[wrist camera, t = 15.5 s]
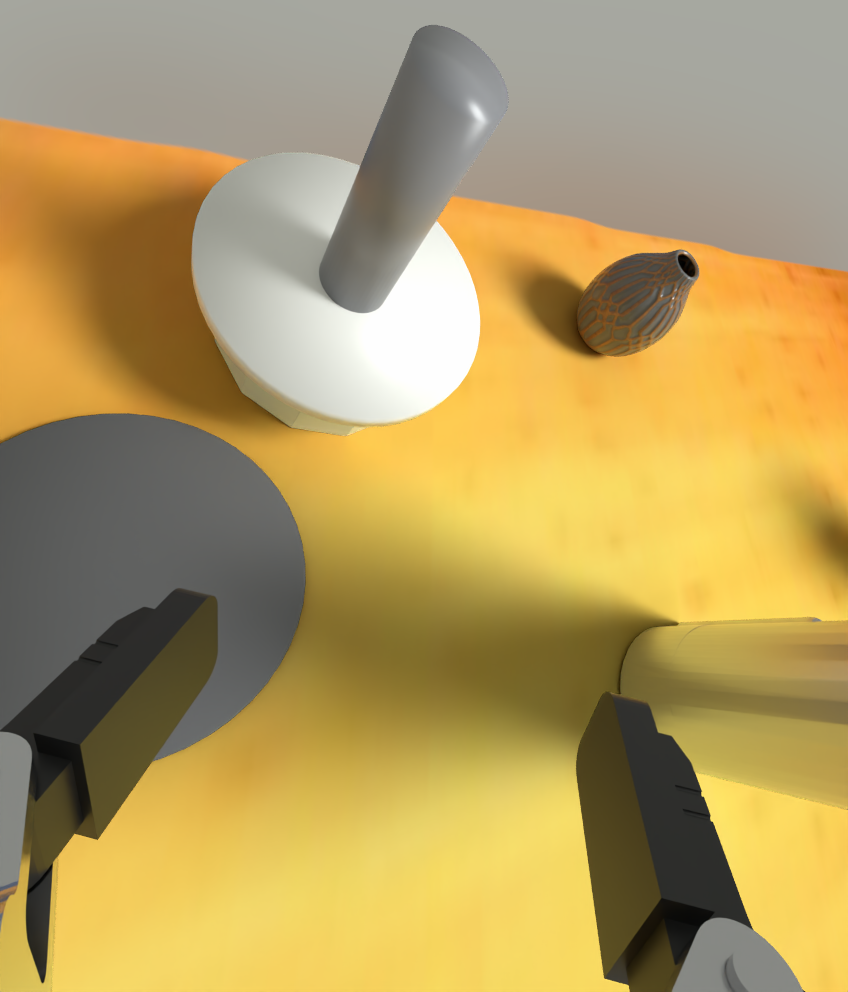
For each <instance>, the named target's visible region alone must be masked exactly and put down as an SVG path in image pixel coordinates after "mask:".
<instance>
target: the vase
mask: <svg viewBox="0 0 848 992" xmlns="http://www.w3.org/2000/svg"><path fill="white" fill-rule="evenodd" d="M698 277H699V268H698V265H697V263H696V261H695V259H694V258H693V256H692V255H691V254H690V253H688V252H687V251H685V250H676V251H673V252H669V253H640V254H634V255H630V256H628V257H625V258H623V259H620V260H618V261H616V262H614V263H613V264H611V265H609V266H608V267H607V268H605V269H604V270H603V271H602V272H601V273H599V274H598V275H597V276H596V277H595V278H594V279H593V280H592V282H591V283H590V284H589V286H588V287H587V288H586V290H585V292H584V293H583V295H582V297H581V300H580V302H579V306H578V311H577V325H578V330H579V333H580V335H581V337H582V339H583V340H584V342H585V343H586V344H587V345H588V346H589V347H590V348H591V349H593V350H595V351H596V352H599V353H601V354H604V355H607V356H614V357H619V356H627V355H631V354H634V353H637V352H640V351H642V350H644V349H646V348H648V347H650V346H651V345H653V344H655V343H656V342H658V341H659V340H660V339H661V338H663V337H664V336H665V335H666V334H667V333H668V332H669V331H670V330H671V328H672V327H673V326H674V325H675V323H676V322H677V321H678V319H679V317H680V315H681V313H682V311H683V309H684V306H685V303H686V300H687V297H688V294H689V292H690V289H691V288H692V286H693V284H694V283H695V282H696V280H697V279H698Z"/></svg>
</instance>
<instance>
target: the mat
mask: <svg viewBox="0 0 848 992" xmlns="http://www.w3.org/2000/svg"><path fill="white" fill-rule="evenodd" d="M177 588H183V589H187V590H191V591H195V592H199V593H204V594H208V595H212V596H215V597H216V599H217V602H218V655H217V660H216V664H215V667H214V669H213V672H212V674H211V676H210V678H209V680H208V682H207V683H206V685H205V686H204V687H203V689H202V690H201V692H200V693H199V695H198V696H197V698H196V699H195V700H194V702H193V703H192V705H191V706H190V708H189V709H188V710H187V712H186V713H185V715H184V716H183V718H182V719H181V721H180V722H179V723H178V725H177V726H176V728H175V729H174V731H173V732H172V734H171V735H170V736H169V738H168V739H167V741H166V742H165V744H164V745H163V746H162V748H161V749H160V751H159V752H158V754H157V755H156V757H155V758H154V759H153V761H155V760H158V759H161V758H164V757H166V756H168V755H171V754H173V753H176V752H178V751H180V750H183V749H185V748H187V747H189V746H191V745H193V744H194V743H196V742H198V741H200V740H202V739H203V738H205V737H207V736H209V735H210V734H212V733H213V732H215V731H216V730H217V729H219V728H220V727H222V726H223V725H224V724H226V723H227V722H228V721H230V720H231V719H232V718H234V717H235V716H236V715H237V714H238V713H239V712H240V711H241V710H242V709H244V708H245V707H246V706H247V705H248V704H249V703H250V702H251V701H252V700H253V699H254V698H255V696H256V695H257V694H258V693H259V692H260V691H261V690H262V688H263V687H264V686H265V685H266V684H267V683H268V681H269V680H270V678H271V677H272V675H273V674H274V672H275V671H276V669H277V668H278V667H279V665H280V663H281V662H282V660H283V658H284V656H285V654H286V652H287V650H288V648H289V646H290V644H291V642H292V639H293V637H294V634H295V631H296V629H297V626H298V623H299V619H300V615H301V611H302V606H303V601H304V592H305V559H304V552H303V546H302V541H301V538H300V534H299V531H298V527H297V524H296V522H295V520H294V517H293V515H292V513H291V511H290V508H289V506H288V505H287V503H286V501H285V500H284V498H283V496H282V495H281V493H280V491H279V490H278V488H277V487H276V486H275V485H274V483H273V482H272V481H271V480H270V478H269V477H268V476H267V475H266V474H265V473H264V472H263V471H262V470H261V469H260V468H259V467H258V466H257V465H256V464H255V463H254V462H253V461H252V460H251V459H250V458H248V457H247V456H246V455H244V454H243V453H242V452H241V451H239V450H238V449H237V448H235V447H234V446H232V445H230V444H229V443H227V442H225V441H224V440H222V439H220V438H219V437H217V436H215V435H212V434H210V433H208V432H206V431H203V430H201V429H199V428H197V427H194V426H190V425H187V424H184V423H181V422H178V421H175V420H170V419H165V418H160V417H155V416H148V415H137V414H98V415H90V416H81V417H75V418H71V419H66V420H62V421H57V422H53V423H50V424H47V425H44V426H41V427H38V428H35V429H32V430H29V431H26V432H24V433H22V434H20V435H18V436H16V437H14V438H11V439H9V440H7V441H5V442H3V443H1V444H0V730H1V729H2V728H3V727H4V726H6V725H7V724H8V723H9V722H10V721H11V720H12V719H13V718H14V717H15V716H16V715H17V714H19V713H20V712H21V711H22V710H23V709H24V708H25V707H26V706H27V705H28V704H29V703H30V702H31V701H32V700H33V699H34V698H35V697H36V696H38V695H39V694H40V693H41V692H42V691H43V690H44V689H45V688H46V687H47V686H48V685H49V684H50V683H51V682H52V681H53V680H54V679H56V678H57V677H58V676H59V675H60V674H61V673H62V672H63V671H64V670H65V669H66V668H67V667H68V666H69V665H70V664H71V663H72V662H74V661H77V660H78V659H79V656H80V655H81V654H82V653H83V652H84V651H85V650H86V649H87V648H88V647H89V646H90V645H91V644H95V643H96V640H97V639H98V638H99V637H100V636H101V635H102V634H103V633H104V632H105V631H106V630H107V629H108V628H109V627H111V626H112V625H113V624H114V623H115V622H116V621H117V620H119V619H121V618H123V617H125V616H127V615H128V614H130V613H132V612H134V611H136V610H138V609H140V608H142V607H148V608H152V609H155V608H156V607H157V606H158V605H159V604H160V603H161V602H162V601H163V600H164V599H165V598H166V597H167V596H168V595H169V594H170V593H171V592H172V591H173V590H175V589H177Z"/></svg>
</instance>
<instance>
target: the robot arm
mask: <svg viewBox="0 0 848 992" xmlns="http://www.w3.org/2000/svg"><path fill="white" fill-rule="evenodd" d="M217 655H218V602H217V599H216V597H215V596H212V595H208V594H204V593H199V592H195V591H191V590H187V589H183V588H177V589H175V590H173V591H172V592H171V593H170V594H169V595H168V596H167V597H166V598H165V599H164V600H163V601H162V602H161V603H160V604H159V605H158V606H157V607H156V608H155V609H152V608H148V607H142V608H140V609H138V610H136V611H134V612H132V613H130V614H128V615H127V616H125V617H123V618H121V619H119V620H117V621H116V622H115V623H114V624H113V625H112V626H111V627H109V628H108V629H107V630H106V631H105V632H104V633H103V634H102V635H101V636H100V637H99V638H98V639H97V640H96V643H95V644H91V645H90V646H89V647H88V648H87V649H86V650H85V651H84V652H83V653H82V654H81V655H80V656H79V659H78V660H77V661H74V662H72V663H71V664H70V665H69V666H68V667H67V668H66V669H65V670H64V671H63V672H62V673H61V674H60V675H59V676H58V677H57V678H56V679H54V680H53V681H52V682H51V683H50V684H49V685H48V686H47V687H46V688H45V689H44V690H43V691H42V692H41V693H40V694H39V695H38V696H36V697H35V698H34V699H33V700H32V701H31V702H30V703H29V704H28V705H27V706H26V707H25V708H24V709H23V710H22V711H21V712H20V713H19V714H17V715H16V716H15V717H14V718H13V719H12V720H11V721H10V722H9V723H8V724H7V725H6V726H4V727H3V728H2V729H1V730H0V992H52V977H53V958H54V939H55V920H56V900H57V881H58V855H59V854H60V852H61V851H62V850H63V848H64V847H65V846H66V844H67V843H68V842H69V840H70V839H71V838H72V836H73V835H74V833H75V834H78V835H82V836H86V837H89V838H93V839H97V840H98V839H99V837H100V836H101V834H102V833H103V831H104V830H105V829H106V827H107V826H108V824H109V823H110V821H111V820H112V818H113V817H114V816H115V814H116V813H117V811H118V810H119V808H120V807H121V805H122V804H123V803H124V801H125V800H126V798H127V797H128V795H129V794H130V793H131V791H132V790H133V788H134V787H135V785H136V784H137V782H138V781H139V780H140V778H141V777H142V775H143V774H144V772H145V771H146V769H147V768H148V767H149V765H150V764H151V762H152V761H153V759H154V758H155V757H156V755H157V754H158V752H159V751H160V749H161V748H162V746H163V745H164V744H165V742H166V741H167V739H168V738H169V736H170V735H171V734H172V732H173V731H174V729H175V728H176V726H177V725H178V723H179V722H180V721H181V719H182V718H183V716H184V715H185V713H186V712H187V710H188V709H189V708H190V706H191V705H192V703H193V702H194V700H195V699H196V698H197V696H198V695H199V693H200V692H201V690H202V689H203V687H204V686H205V685H206V683H207V682H208V680H209V678H210V676H211V674H212V672H213V669H214V667H215V664H216V660H217ZM620 693H621V695H620V694H616V693H611V692H605V693H604V694H603V695H602V696H601V698H600V700H599V702H598V705H597V707H596V709H595V711H594V713H593V715H592V718H591V720H590V722H589V724H588V726H587V728H586V731H585V733H584V735H583V737H582V739H581V742H580V744H579V748H578V753H577V761H576V775H577V783H578V790H579V797H580V805H581V812H582V819H583V827H584V834H585V841H586V849H587V856H588V863H589V871H590V878H591V885H592V893H593V900H594V907H595V915H596V922H597V929H598V937H599V944H600V951H601V959H602V966H603V973H604V979H608V980H612V981H616V982H619V983H623V984H627V985H629V989H630V992H805V991H804V990H802V988H801V986H800V984H799V982H798V980H797V978H796V977H795V975H794V973H793V972H792V970H791V969H790V967H789V966H788V964H787V963H786V962H785V960H784V959H783V958H782V957H781V955H780V954H779V953H778V952H777V951H776V950H775V949H774V948H773V947H772V946H771V945H770V944H769V943H768V942H767V941H766V940H765V939H764V938H763V937H761V936H760V935H759V934H758V933H756V932H755V931H754V930H753V928H752V926H751V924H750V921H749V919H748V917H747V914H746V911H745V908H744V906H743V903H742V900H741V898H740V895H739V892H738V889H737V887H736V884H735V881H734V878H733V876H732V873H731V870H730V867H729V865H728V862H727V859H726V856H725V854H724V851H723V848H722V845H721V843H720V840H719V837H718V835H717V832H716V829H715V826H714V824H713V822H711V821H710V816H711V815H710V813H709V810H708V807H707V804H706V802H705V799H704V797H702V796H701V792H702V791H701V788H700V785H699V782H698V780H697V777H696V774H695V772H696V773H700V774H704V775H708V776H712V777H716V778H719V779H723V780H727V781H732V782H736V783H740V784H744V785H748V786H752V787H756V788H760V789H764V790H768V791H772V792H776V793H781V794H785V795H789V796H793V797H797V798H801V799H805V800H809V801H813V802H817V803H821V804H826V805H830V806H834V807H838V808H842V809H846V810H848V621H821V620H820V619H817V618H814V617H803V618H778V619H753V620H728V621H703V622H681V623H679V624H678V625H677V626H659V627H652V628H649V629H647V630H645V631H643V632H642V633H641V634H640V635H639V636H637V637H636V638H635V639H634V641H633V642H632V644H631V645H630V647H629V648H628V651H627V653H626V656H625V658H624V661H623V666H622V671H621V681H620Z"/></svg>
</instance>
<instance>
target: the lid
mask: <svg viewBox="0 0 848 992" xmlns="http://www.w3.org/2000/svg"><path fill="white" fill-rule="evenodd" d="M507 108H508V92H507V88H506V85H505V82H504V80H503V78H502V76H501V74H500V72H499V70H498V69H497V67H496V66H495V64H494V63H493V62H492V61H491V59H490V58H489V57H488V56H487V55H486V54H485V52H484V51H483V50H482V49H481V48H480V47H478V46H477V45H476V44H475V43H474V42H472V41H471V40H470V39H468V38H467V37H465V36H464V35H462V34H460V33H458V32H457V31H455V30H452V29H450V28H447V27H443V26H438V25H429V26H425V27H422V28H420V29H419V30H418V31H417V32H416V33H415V35H414V36H413V39H412V41H411V44H410V46H409V48H408V51H407V53H406V56H405V58H404V61H403V63H402V66H401V68H400V70H399V73H398V75H397V78H396V80H395V83H394V85H393V87H392V90H391V92H390V95H389V97H388V100H387V102H386V105H385V107H384V110H383V112H382V114H381V117H380V119H379V122H378V124H377V127H376V129H375V131H374V134H373V136H372V139H371V141H370V144H369V146H368V149H367V151H366V153H365V156H364V158H363V161H362V163H361V166H359V165H357V164H353V163H351V162H348V161H345V160H342V159H339V158H334V157H330V156H326V155H321V154H313V153H304V152H303V153H301V152H295V153H293V152H292V153H290V152H286V153H279V154H271V155H267V156H263V157H259V158H256V159H252V160H250V161H248V162H246V163H244V164H242V165H239V166H237V167H236V168H234V169H233V170H232V171H230V172H229V173H227V174H226V175H224V176H223V177H222V178H221V179H220V180H219V181H218V182H217V183H216V184H215V185H214V186H213V187H212V189H211V190H210V192H209V193H208V195H207V196H206V198H205V199H204V201H203V203H202V205H201V208H200V210H199V213H198V215H197V218H196V222H195V227H194V232H193V240H192V260H191V270H192V278H193V286H194V290H195V293H196V297H197V300H198V304H199V307H200V309H201V311H202V314H203V316H204V318H205V321H206V323H207V325H208V327H209V329H210V330H211V332H212V333H213V335H214V337H215V338H216V340H217V342H218V343H219V345H220V346H221V347H222V349H223V350H224V351H225V353H226V354H227V355H228V356H229V358H230V359H231V360H232V361H233V363H234V364H235V365H236V366H237V367H238V368H239V369H240V370H241V371H242V372H243V373H244V374H245V375H246V376H247V377H248V378H250V379H251V380H252V381H253V382H254V383H256V384H257V385H258V386H259V387H261V388H262V389H263V390H264V391H266V392H267V393H269V394H270V395H272V396H273V397H275V398H276V399H278V400H280V401H281V402H283V403H284V404H286V405H288V406H290V407H292V408H294V409H296V410H298V411H300V412H302V413H304V414H307V415H310V416H313V417H316V418H318V419H321V420H324V421H328V422H332V423H337V424H341V425H347V426H357V427H383V426H389V425H395V424H400V423H403V422H406V421H409V420H412V419H415V418H417V417H419V416H421V415H423V414H425V413H427V412H429V411H430V410H431V409H433V408H434V407H436V406H437V405H438V404H440V403H441V402H442V401H443V400H444V399H445V398H447V397H448V396H449V395H450V394H451V393H452V392H453V391H454V390H455V389H456V388H457V387H458V386H459V385H460V383H461V382H462V380H463V379H464V378H465V376H466V375H467V373H468V371H469V369H470V367H471V365H472V363H473V361H474V357H475V354H476V351H477V347H478V341H479V334H480V314H479V306H478V300H477V296H476V291H475V287H474V285H473V282H472V279H471V276H470V273H469V271H468V269H467V267H466V265H465V262H464V260H463V258H462V256H461V255H460V253H459V251H458V250H457V248H456V246H455V245H454V243H453V241H452V240H451V239H450V237H449V236H448V235H447V233H446V232H445V230H444V229H443V228H442V227H441V226H440V224H439V223H438V222H437V221H436V220H437V219H438V217H439V216H440V214H441V212H442V211H443V209H444V208H445V206H446V205H447V203H448V202H449V200H450V198H451V197H452V195H453V194H454V192H455V191H456V189H457V188H458V186H459V184H460V183H461V181H462V180H463V178H464V177H465V175H466V173H467V172H468V170H469V169H470V167H471V166H472V164H473V163H474V161H475V159H476V158H477V156H478V155H479V153H480V152H481V150H482V148H483V147H484V145H485V144H486V142H487V141H488V139H489V138H490V136H491V135H492V133H493V131H494V130H495V128H496V126H497V125H498V124H499V122H500V120H501V119H502V117H503V116H504V114H505V112H506V111H507Z"/></svg>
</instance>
